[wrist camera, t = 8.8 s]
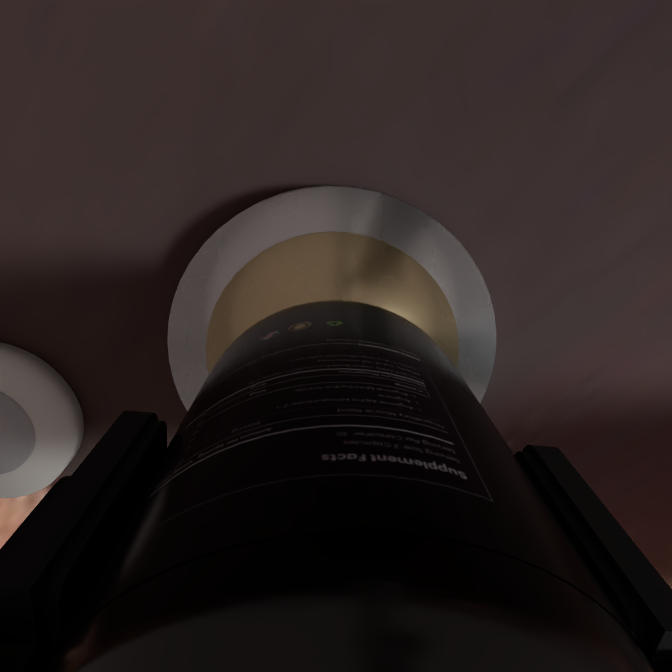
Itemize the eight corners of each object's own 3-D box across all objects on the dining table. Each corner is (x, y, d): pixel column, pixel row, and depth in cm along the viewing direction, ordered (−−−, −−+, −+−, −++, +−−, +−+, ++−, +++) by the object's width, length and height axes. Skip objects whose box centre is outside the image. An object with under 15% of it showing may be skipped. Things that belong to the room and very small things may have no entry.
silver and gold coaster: (174, 165, 14) (161, 165, 13) (520, 205, 15) (536, 209, 14) (178, 462, 18) (168, 482, 17) (452, 484, 19) (460, 504, 18)
